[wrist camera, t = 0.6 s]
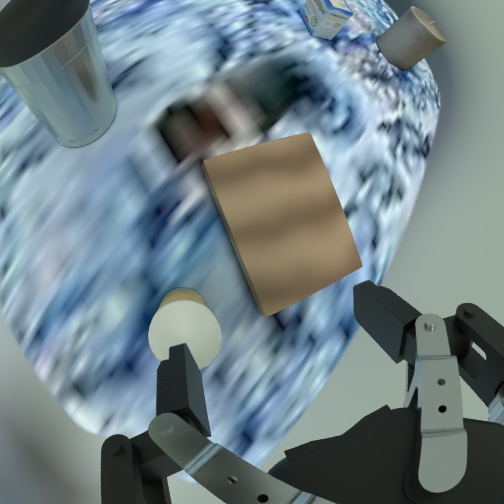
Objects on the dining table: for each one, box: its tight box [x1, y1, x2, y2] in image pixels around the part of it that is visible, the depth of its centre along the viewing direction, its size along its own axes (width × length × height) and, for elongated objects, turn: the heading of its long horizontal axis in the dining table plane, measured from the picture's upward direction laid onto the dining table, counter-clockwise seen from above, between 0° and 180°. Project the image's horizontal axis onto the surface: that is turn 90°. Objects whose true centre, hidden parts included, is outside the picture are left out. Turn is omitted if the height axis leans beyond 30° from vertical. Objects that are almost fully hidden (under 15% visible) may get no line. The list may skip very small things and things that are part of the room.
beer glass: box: [148, 287, 222, 370], centre depth 23 cm, size 5×5×12 cm
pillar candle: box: [376, 6, 447, 70], centre depth 34 cm, size 10×10×15 cm
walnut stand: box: [202, 132, 363, 317], centre depth 30 cm, size 17×13×4 cm
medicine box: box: [299, 0, 353, 40], centre depth 32 cm, size 8×4×9 cm, turn 11°
